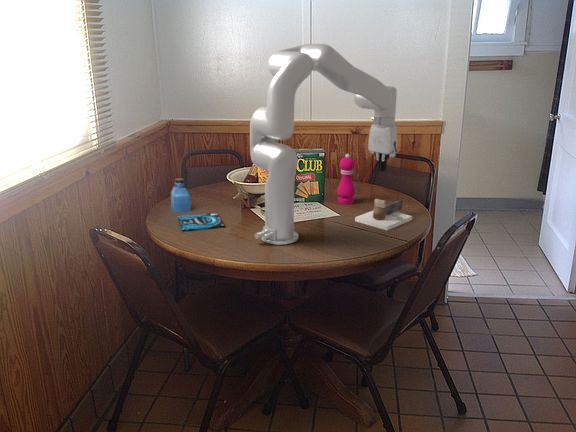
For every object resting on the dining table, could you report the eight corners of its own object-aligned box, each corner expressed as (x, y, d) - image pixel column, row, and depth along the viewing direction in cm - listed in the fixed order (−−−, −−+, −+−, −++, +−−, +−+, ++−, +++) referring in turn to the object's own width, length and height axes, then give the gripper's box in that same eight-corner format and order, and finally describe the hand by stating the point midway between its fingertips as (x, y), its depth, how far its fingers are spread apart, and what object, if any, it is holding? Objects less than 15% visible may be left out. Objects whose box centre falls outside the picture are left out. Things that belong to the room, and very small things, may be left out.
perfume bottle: (190, 210, 206) (188, 180, 203) (174, 212, 204) (172, 182, 200) (187, 206, 212) (185, 176, 208) (171, 207, 210) (169, 178, 206)
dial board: (388, 230, 187) (388, 226, 186) (354, 221, 196) (355, 216, 196) (413, 220, 198) (413, 215, 197) (380, 211, 207) (380, 207, 207)
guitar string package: (225, 225, 189) (182, 229, 184) (225, 229, 189) (182, 233, 185) (217, 212, 202) (177, 216, 198) (217, 216, 203) (177, 219, 198)
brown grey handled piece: (380, 220, 192) (381, 202, 189) (370, 217, 194) (371, 200, 192) (405, 210, 203) (406, 193, 201) (395, 207, 205) (396, 191, 203)
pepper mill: (354, 199, 222) (356, 152, 215) (354, 205, 215) (357, 156, 208) (336, 199, 222) (338, 151, 216) (336, 204, 215) (338, 155, 209)
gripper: (361, 120, 197) (359, 169, 203) (396, 125, 187) (392, 176, 193) (373, 118, 202) (371, 165, 208) (407, 122, 192) (404, 172, 198)
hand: (381, 170), depth 200 cm, fingers closed
